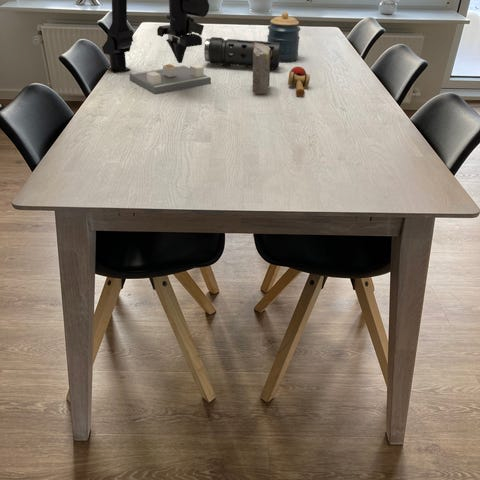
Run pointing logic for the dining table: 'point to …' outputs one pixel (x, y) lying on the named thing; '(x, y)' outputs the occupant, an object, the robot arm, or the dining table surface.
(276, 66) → the muzzle brake
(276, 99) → the dining table surface
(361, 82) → the dining table surface
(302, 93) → the kendama
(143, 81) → the switch panel
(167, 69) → the switch
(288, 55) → the canister
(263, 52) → the geological specimen
